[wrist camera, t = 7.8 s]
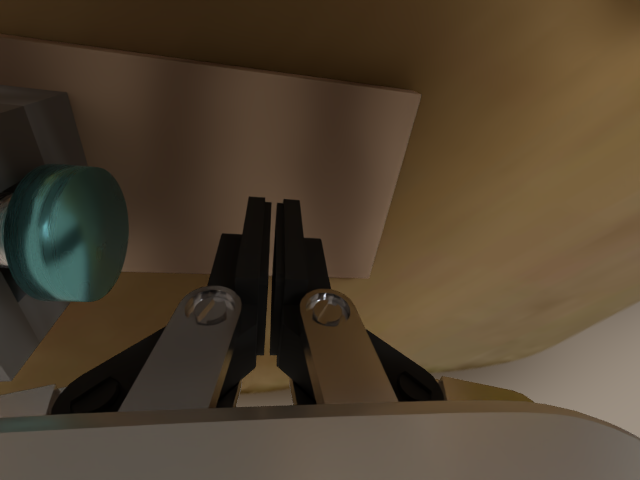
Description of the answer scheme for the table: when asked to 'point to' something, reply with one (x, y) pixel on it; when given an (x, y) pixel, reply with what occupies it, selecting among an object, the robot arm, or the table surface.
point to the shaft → (64, 232)
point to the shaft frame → (197, 157)
